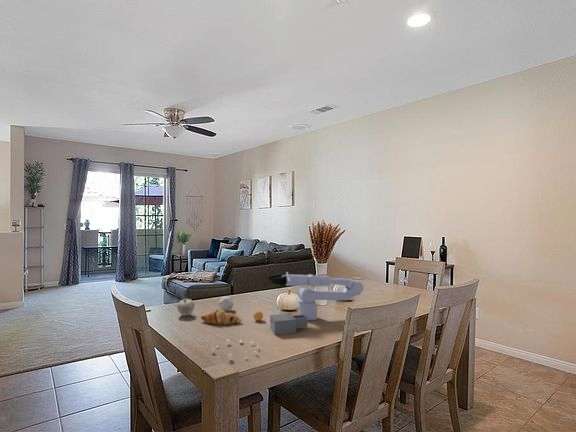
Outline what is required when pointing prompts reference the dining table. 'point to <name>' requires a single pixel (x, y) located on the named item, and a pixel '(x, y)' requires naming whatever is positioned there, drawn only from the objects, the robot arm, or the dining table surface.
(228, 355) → the game piece set
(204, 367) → the dining table surface
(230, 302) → the die
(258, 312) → the egg
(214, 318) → the croissant
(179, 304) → the decorative object
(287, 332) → the grey stepped block
